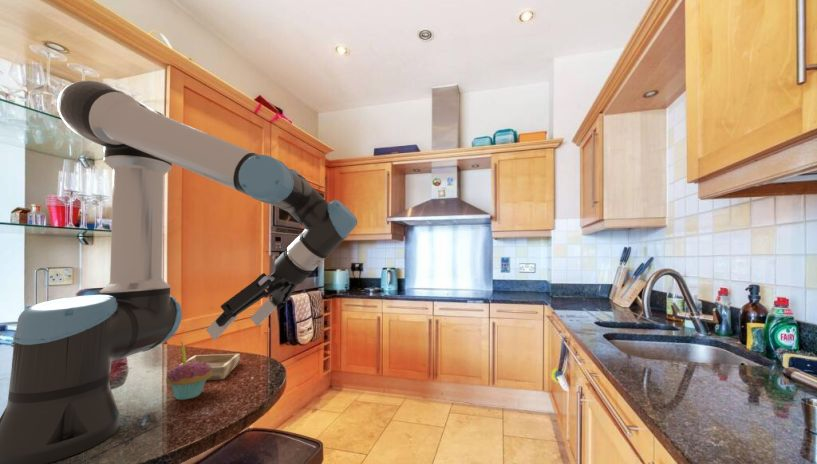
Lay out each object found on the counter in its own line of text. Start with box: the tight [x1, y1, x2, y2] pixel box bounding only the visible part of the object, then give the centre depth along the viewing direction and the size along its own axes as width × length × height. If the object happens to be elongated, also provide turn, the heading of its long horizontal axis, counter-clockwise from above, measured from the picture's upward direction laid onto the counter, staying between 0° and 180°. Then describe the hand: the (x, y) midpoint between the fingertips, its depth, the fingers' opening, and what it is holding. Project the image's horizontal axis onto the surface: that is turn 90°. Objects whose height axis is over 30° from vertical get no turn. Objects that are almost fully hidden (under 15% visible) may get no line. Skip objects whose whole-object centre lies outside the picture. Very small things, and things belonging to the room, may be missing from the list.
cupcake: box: [165, 342, 212, 400], centre depth 72 cm, size 9×8×12 cm
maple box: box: [179, 353, 241, 381], centre depth 86 cm, size 12×12×3 cm
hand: (234, 327), depth 71 cm, fingers open, 13 cm apart
